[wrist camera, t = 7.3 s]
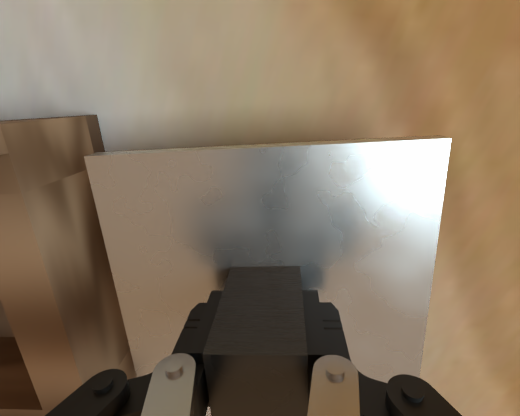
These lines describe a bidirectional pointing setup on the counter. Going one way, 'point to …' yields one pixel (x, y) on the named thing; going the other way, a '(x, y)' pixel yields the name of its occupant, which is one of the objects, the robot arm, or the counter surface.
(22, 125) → the walnut box
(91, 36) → the counter surface
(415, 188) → the cover plate
